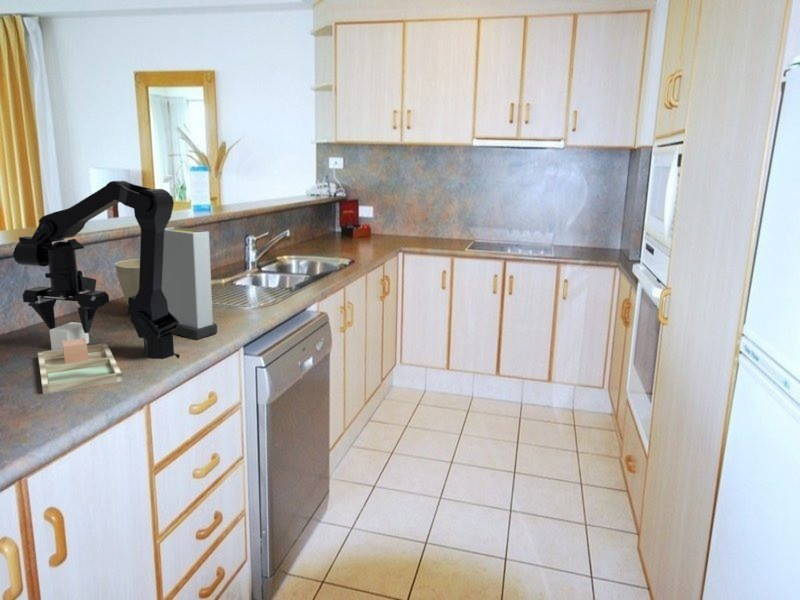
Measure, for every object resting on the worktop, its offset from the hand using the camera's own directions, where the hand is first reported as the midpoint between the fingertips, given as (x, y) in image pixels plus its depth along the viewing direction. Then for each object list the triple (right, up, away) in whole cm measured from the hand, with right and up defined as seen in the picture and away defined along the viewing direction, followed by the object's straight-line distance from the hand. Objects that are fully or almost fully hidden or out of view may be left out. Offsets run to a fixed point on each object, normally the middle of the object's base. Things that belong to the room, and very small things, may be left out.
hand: (69, 331), depth 135 cm
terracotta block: (+7, -6, -9) cm, 13 cm away
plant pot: (+3, +3, +34) cm, 34 cm away
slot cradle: (+10, -8, -13) cm, 18 cm away
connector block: (0, -5, +1) cm, 5 cm away
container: (+22, -2, +18) cm, 29 cm away
